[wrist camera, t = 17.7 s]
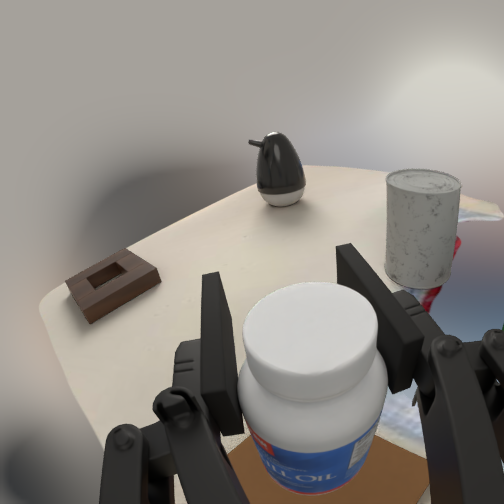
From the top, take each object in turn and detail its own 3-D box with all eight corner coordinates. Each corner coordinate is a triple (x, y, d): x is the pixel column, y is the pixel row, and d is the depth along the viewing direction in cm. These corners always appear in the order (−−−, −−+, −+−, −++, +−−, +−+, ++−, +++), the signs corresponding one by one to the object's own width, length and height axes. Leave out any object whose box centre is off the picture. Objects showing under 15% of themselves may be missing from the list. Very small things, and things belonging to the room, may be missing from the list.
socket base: (70, 292, 48) (64, 280, 47) (129, 259, 56) (125, 247, 54) (89, 324, 40) (82, 310, 38) (161, 281, 47) (156, 267, 46)
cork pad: (193, 487, 19) (189, 483, 18) (297, 397, 25) (296, 391, 25) (334, 595, 9) (335, 596, 9) (436, 469, 16) (439, 464, 15)
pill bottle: (243, 470, 13) (176, 348, 9) (296, 399, 17) (274, 257, 12) (337, 513, 10) (358, 426, 6) (383, 429, 14) (416, 284, 9)
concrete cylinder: (389, 291, 35) (394, 194, 29) (380, 251, 43) (379, 169, 38) (459, 287, 33) (473, 193, 27) (439, 248, 41) (445, 168, 35)
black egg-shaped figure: (261, 196, 72) (249, 132, 65) (306, 191, 70) (297, 126, 63) (257, 214, 63) (244, 140, 56) (309, 208, 62) (299, 132, 54)
